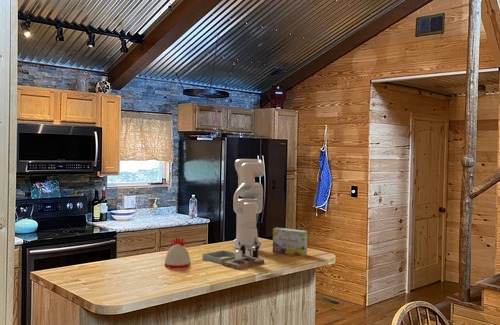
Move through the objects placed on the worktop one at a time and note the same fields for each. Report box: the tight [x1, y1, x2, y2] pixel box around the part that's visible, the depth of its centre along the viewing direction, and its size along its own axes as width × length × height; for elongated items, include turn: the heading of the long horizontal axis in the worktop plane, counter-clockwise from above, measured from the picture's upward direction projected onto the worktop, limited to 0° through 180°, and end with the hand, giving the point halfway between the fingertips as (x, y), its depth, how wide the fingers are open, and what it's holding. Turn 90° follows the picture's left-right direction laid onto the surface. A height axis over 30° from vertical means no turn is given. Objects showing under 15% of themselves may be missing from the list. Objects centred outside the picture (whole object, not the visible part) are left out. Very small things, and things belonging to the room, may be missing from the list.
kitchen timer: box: [164, 237, 191, 269], centre depth 264 cm, size 14×14×15 cm
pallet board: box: [222, 257, 265, 271], centre depth 264 cm, size 12×20×3 cm, turn 136°
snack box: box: [272, 227, 308, 257], centre depth 297 cm, size 21×6×15 cm, turn 62°
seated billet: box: [234, 249, 242, 264], centre depth 261 cm, size 4×4×8 cm
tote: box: [201, 249, 243, 265], centre depth 276 cm, size 16×16×4 cm
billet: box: [245, 248, 254, 261], centre depth 267 cm, size 4×4×8 cm
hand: (248, 255), depth 267 cm, fingers open, 9 cm apart
